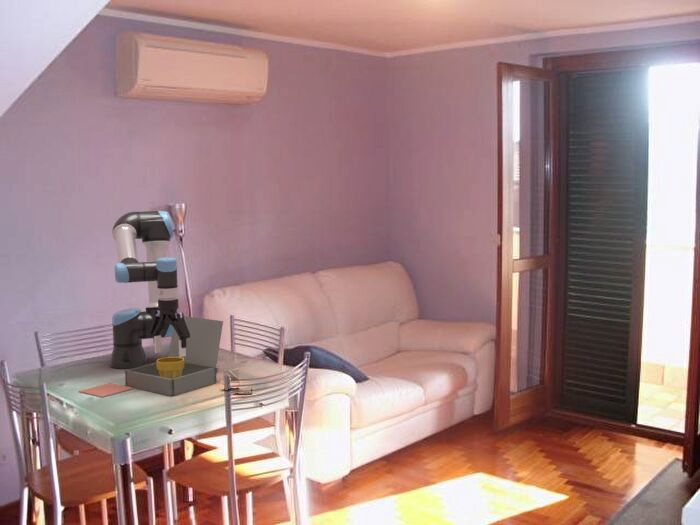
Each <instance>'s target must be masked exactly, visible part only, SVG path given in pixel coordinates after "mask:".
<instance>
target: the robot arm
mask: <svg viewBox="0 0 700 525" xmlns="http://www.w3.org/2000/svg"><path fill="white" fill-rule="evenodd" d="M111 233H112V238H113V240H114V241H115V243H116V252H117V259H118V263H117V262H116V263H115V264H114V279H115V280H114V281H115V282H116V283H119V284H121V283H123V284H127V283H142V282H143V283H144V282H147V289H148V292H147V293H148V304H147V305H146V306H145V311H142V310H141V308H139V307H136V308H135V307H134V308H128V309H122V310H119V311H117V312H115V313H114V314H112V323H111V326H112V339H113V340H112V342H113V344H112V346H113V348H112V351H111V357H110V359H109V367H110V368H113V369H124V370H125V369H133V368H137V367H141V366H145V365H148V357H147V355H146V353H145V350H144V347H143V340H145V339H146V340H148V339H153V345H154V347H153V348H154V354H158V353H162V338H163V339H166V338H170V337H171V336H172V330H173V327H174V329H175V331H176V333H177V334H178V336H179V338H180V339H179V357H183V356H186V339H187V338H189V337H190V333H189V330H188V328H187V325H186V322H185V320H184V316H185V315H184V312H183V311H182V312H178V309H179V299H178V298H179V287H178V286H179V285H178V264H177V263H178V262H177V258H175V257H168V245H169V244H170V243H171V239H172V238H173V237H174V227H173V222H172V219H171V216H170V213H169V212H168V211H165V210H153V211H152V210H150V211H148V210H147V211H145V210H144V211H130V212H127V213H125V214H123V215H121V216H120V217H119V218H118V219H117V220H116V221H115V223H114V224H113V227H112V231H111ZM136 240H141V243H142V244H143V246H144V247H145V251H146V261H144V262H143V261H139V254H138V250H137V244H136ZM175 321H176V322H175ZM186 334H187V335H186Z"/></svg>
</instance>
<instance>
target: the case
mask: <svg viewBox="0 0 700 525" xmlns="http://www.w3.org/2000/svg"><path fill="white" fill-rule="evenodd" d="M184 320H185V322H186V325H187V328H188V330H189V333H190V337H189V338H187V339H186V356H183V357H181V358H184V368H183V370H182V375H181V377H178V378H174V379H169V378H164V377H160V374H159V370H157V365H156V362H153V363H150V364H146V365H144V366H140V367H135V368H128V369H126V370H125V369H124V370H125V371H124V373H125V374H124V375H125V376H124V380H125V386H127V387H132V388H134V389H136V390H142V391H146V392H151V393H156V394H160V395H163V396H164V395H165V396H169V397H175V396H178V395H182V394H185V393H188V392H192V391H194V390H195V391H196V390H198V389H202V388H205V387H208V386H212V385H215V384H217V369H218V368H217V366H218V365H217V363H218V357H219V351H220V345H221V340H222V339H221V337H222V331H223V324H224V321H223V320H218V319H210V318H208V319H207V318H201V317H195V316H187V315H184ZM175 322H176V321H175ZM186 335H187V334H186ZM179 339H180V338H179V336H178V334H177V333H176V331H175V329H174V327H173V330H172V336H171V339H170V342H169V343H170V344H169V350H168V356H167V357H179Z"/></svg>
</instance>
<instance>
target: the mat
mask: <svg viewBox="0 0 700 525" xmlns="http://www.w3.org/2000/svg"><path fill="white" fill-rule="evenodd" d="M134 389H135V388H132V387H127V386H126V385H122V384H117V383H114V382H107V383H104V384H101V385H100V384H99V385H96V386H93V387H88V388H86V389H85V388H84V389H81V390H78V393H81V394H86V395H90V396H95V397H99V398H102V399H103V398H105V397H109V396H115V395H117V394H121V393H124V392H128V391H132V390H134Z"/></svg>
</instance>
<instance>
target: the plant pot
mask: <svg viewBox="0 0 700 525" xmlns="http://www.w3.org/2000/svg"><path fill="white" fill-rule="evenodd" d="M155 363H156V365H157V370H159V374H160V377H164V378H169V379H174V378H178V377H181V375H182V370H183V368H184V358H181V357H168V356H167V357H166V356H165V357H161V358H158V359H156V361H155Z"/></svg>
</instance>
